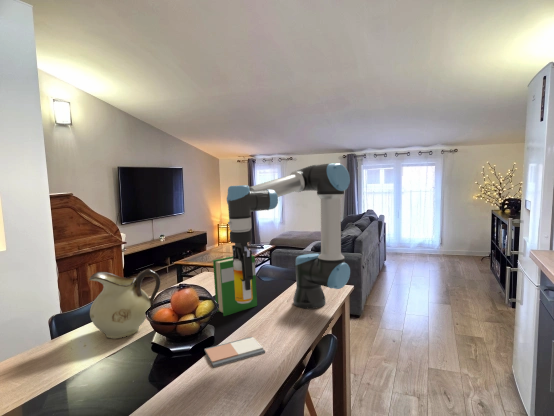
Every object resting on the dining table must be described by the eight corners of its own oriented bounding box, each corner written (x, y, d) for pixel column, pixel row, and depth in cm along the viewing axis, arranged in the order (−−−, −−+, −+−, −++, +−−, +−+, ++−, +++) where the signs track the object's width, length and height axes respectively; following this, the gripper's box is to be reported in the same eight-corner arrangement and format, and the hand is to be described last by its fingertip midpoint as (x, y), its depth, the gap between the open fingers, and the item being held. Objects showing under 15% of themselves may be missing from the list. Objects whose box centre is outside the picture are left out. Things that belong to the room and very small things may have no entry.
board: (252, 338, 128) (251, 335, 128) (264, 352, 117) (264, 349, 117) (204, 351, 120) (204, 347, 120) (213, 367, 110) (213, 363, 110)
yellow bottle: (250, 304, 116) (247, 260, 115) (233, 303, 117) (230, 260, 116) (254, 298, 122) (252, 256, 121) (238, 297, 123) (236, 256, 122)
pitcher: (79, 338, 135) (73, 276, 133) (128, 316, 156) (124, 262, 154) (119, 349, 125) (114, 282, 123) (165, 323, 146) (162, 266, 144)
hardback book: (224, 316, 151) (220, 262, 149) (216, 311, 157) (213, 260, 155) (257, 305, 161) (254, 255, 159) (248, 301, 167) (246, 253, 165)
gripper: (222, 228, 124) (225, 290, 126) (239, 234, 107) (243, 306, 109) (241, 226, 128) (244, 286, 129) (261, 232, 110) (264, 302, 112)
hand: (244, 295), depth 119 cm, fingers closed on yellow bottle, 6 cm apart
